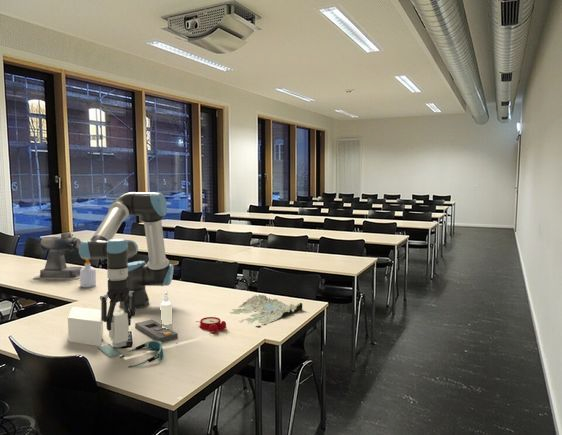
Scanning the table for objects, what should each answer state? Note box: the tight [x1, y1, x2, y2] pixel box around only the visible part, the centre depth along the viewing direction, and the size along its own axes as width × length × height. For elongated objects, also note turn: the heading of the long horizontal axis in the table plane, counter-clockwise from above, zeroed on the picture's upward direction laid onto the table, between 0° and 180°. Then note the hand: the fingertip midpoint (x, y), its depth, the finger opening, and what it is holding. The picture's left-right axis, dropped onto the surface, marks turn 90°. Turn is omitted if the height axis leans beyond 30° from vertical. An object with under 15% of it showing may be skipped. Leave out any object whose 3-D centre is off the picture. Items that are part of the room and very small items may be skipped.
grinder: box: [32, 232, 83, 281], centre depth 291 cm, size 18×31×31 cm, turn 91°
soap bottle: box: [79, 258, 97, 288], centre depth 266 cm, size 9×9×25 cm
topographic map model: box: [228, 294, 303, 328], centre depth 216 cm, size 36×29×5 cm
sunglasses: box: [119, 340, 164, 368], centre depth 158 cm, size 14×15×5 cm
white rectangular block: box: [67, 306, 104, 347], centre depth 179 cm, size 14×29×10 cm, turn 47°
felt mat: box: [97, 343, 123, 358], centre depth 167 cm, size 12×12×1 cm
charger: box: [110, 310, 129, 349], centre depth 166 cm, size 5×5×13 cm
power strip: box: [134, 319, 179, 343], centre depth 185 cm, size 30×8×4 cm, turn 43°
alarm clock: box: [195, 316, 227, 334], centre depth 190 cm, size 10×6×15 cm
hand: (119, 335), depth 166 cm, fingers open, 5 cm apart
